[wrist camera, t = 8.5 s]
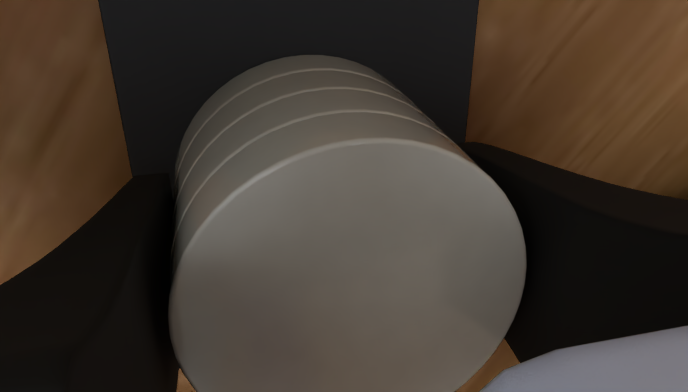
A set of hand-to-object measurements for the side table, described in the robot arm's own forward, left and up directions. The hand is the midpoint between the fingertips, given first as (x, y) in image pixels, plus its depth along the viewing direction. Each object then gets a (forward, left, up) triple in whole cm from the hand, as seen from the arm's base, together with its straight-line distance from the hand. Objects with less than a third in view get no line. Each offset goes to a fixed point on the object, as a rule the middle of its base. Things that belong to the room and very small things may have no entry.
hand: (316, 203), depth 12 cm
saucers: (0, 0, -1) cm, 1 cm away
